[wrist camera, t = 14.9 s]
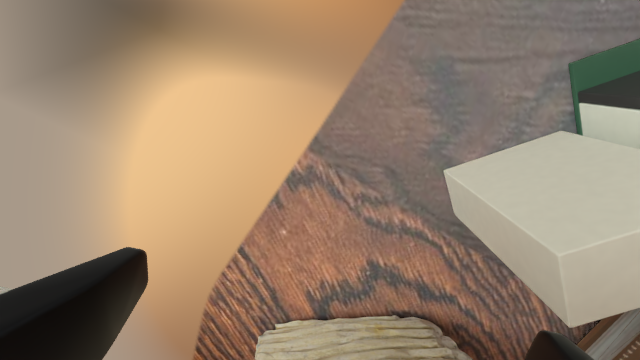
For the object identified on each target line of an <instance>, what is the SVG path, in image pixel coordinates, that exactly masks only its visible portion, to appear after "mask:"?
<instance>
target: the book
mask: <svg viewBox="0 0 640 360" xmlns="http://www.w3.org/2000/svg"><path fill="white" fill-rule="evenodd" d="M577 346H578V347H579V348H580V349H582V350H583V351H584V352H586V353H587V354H588V355H589V356H591V357H592V358H593V359H594V360H640V308H637V309H634V310H630V311H627V312H623V313H620V314H617V315H613V316H610V317H606V318H603V319H602V320H601V321H600V322H599V323H598V324H597V325H596V326H595V327H594V328H593V329H592V330H591V331H590V332H589V333H588V334H587V335H586V336H585V337H584V338H583V339H582V340H581V341H580V342H579V343H578V344H577Z"/></svg>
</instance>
